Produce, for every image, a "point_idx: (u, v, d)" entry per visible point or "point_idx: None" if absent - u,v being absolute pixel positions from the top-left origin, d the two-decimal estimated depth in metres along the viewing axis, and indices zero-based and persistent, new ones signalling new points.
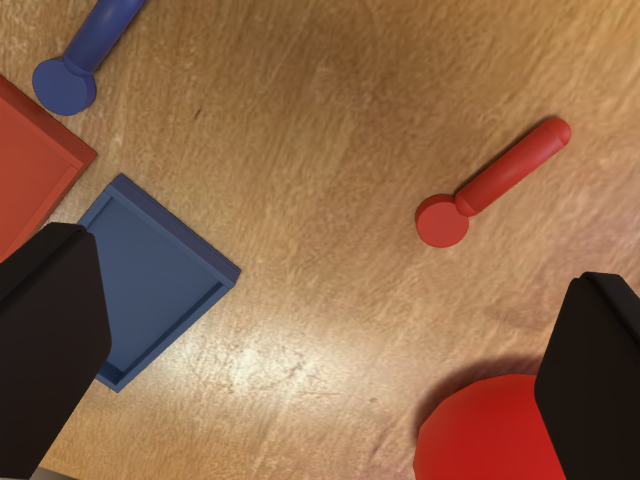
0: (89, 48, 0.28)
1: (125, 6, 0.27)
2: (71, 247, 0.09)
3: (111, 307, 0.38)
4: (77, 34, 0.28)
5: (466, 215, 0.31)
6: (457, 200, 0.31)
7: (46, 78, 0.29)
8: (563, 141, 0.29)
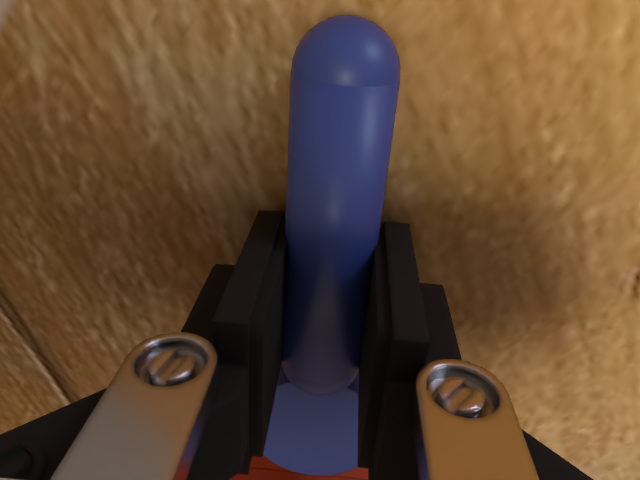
0: (336, 331, 0.10)
1: (366, 180, 0.09)
2: None
3: None
4: (289, 317, 0.10)
5: None
6: None
7: (279, 428, 0.12)
8: None
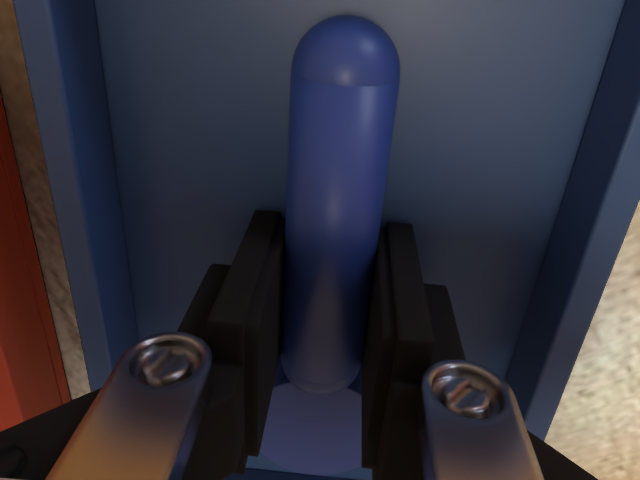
0: (336, 331, 0.10)
1: (366, 179, 0.09)
2: (284, 231, 0.10)
3: None
4: (289, 317, 0.10)
5: None
6: None
7: (280, 427, 0.12)
8: None
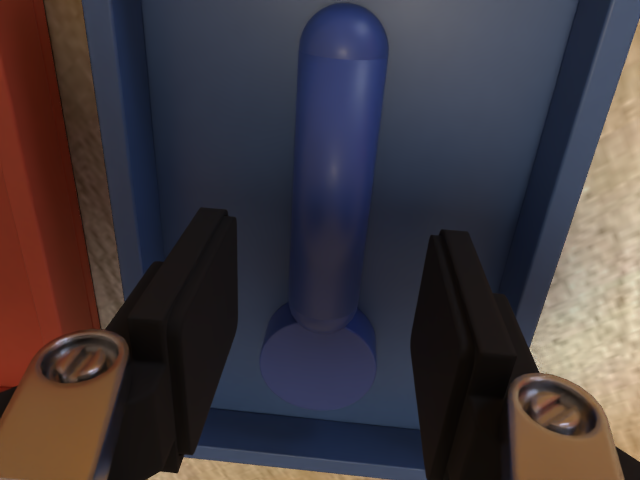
0: (335, 273, 0.12)
1: (360, 139, 0.10)
2: (226, 229, 0.10)
3: None
4: (296, 261, 0.12)
5: None
6: None
7: (287, 365, 0.14)
8: None
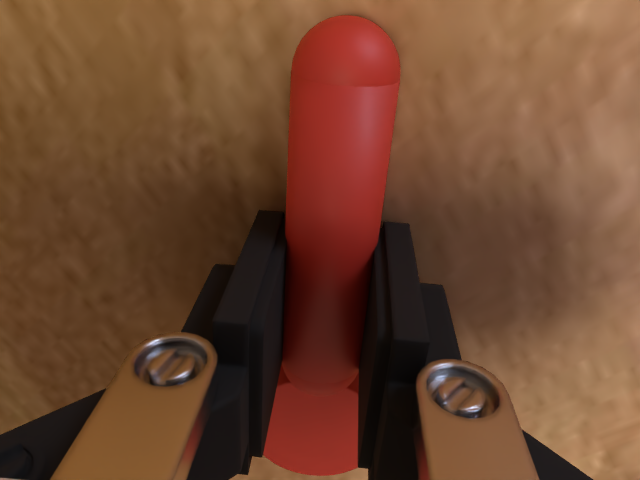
0: None
1: None
2: None
3: None
4: None
5: (332, 394, 0.11)
6: (285, 374, 0.11)
7: None
8: (362, 79, 0.08)
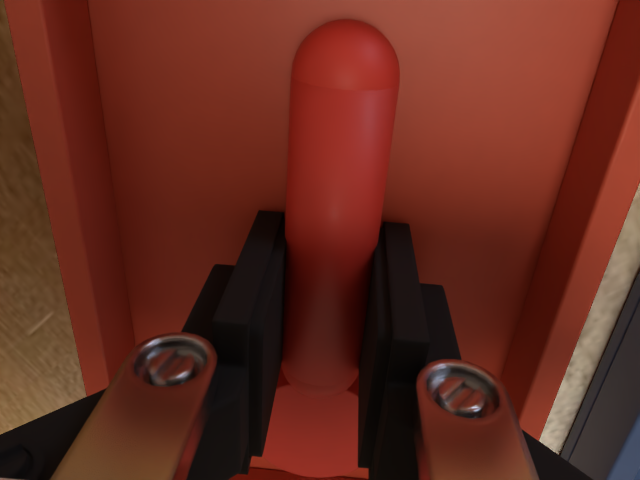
0: None
1: None
2: None
3: None
4: None
5: (332, 396, 0.11)
6: (285, 377, 0.11)
7: None
8: (362, 83, 0.08)
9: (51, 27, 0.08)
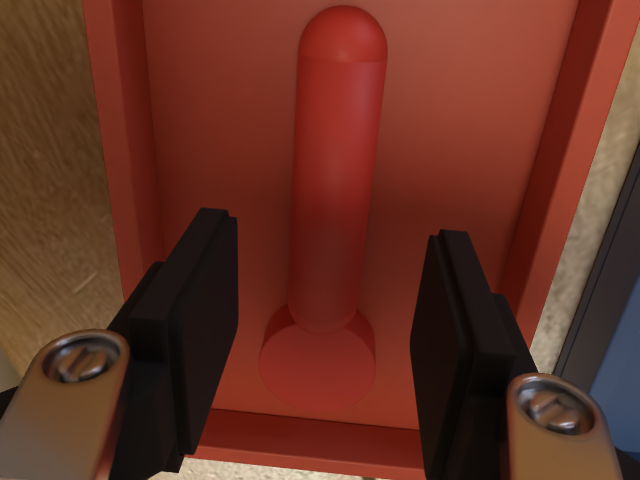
0: None
1: None
2: (227, 229, 0.10)
3: None
4: None
5: (332, 333, 0.13)
6: (291, 317, 0.13)
7: None
8: (356, 56, 0.10)
9: (117, 20, 0.10)
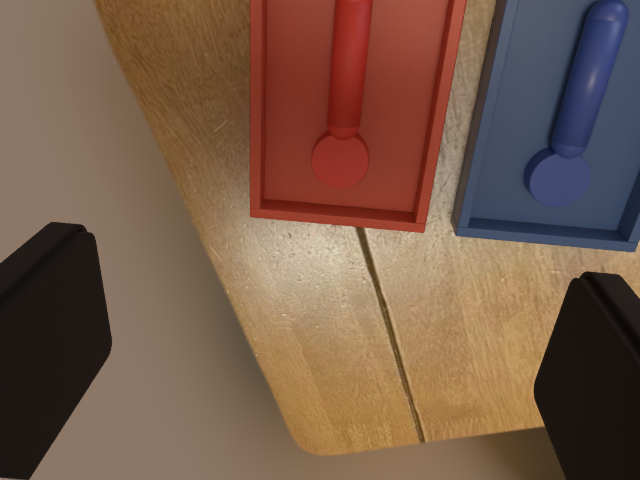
0: (588, 121, 0.26)
1: (613, 56, 0.24)
2: (71, 247, 0.09)
3: None
4: (567, 118, 0.26)
5: (348, 137, 0.27)
6: (328, 130, 0.28)
7: (544, 179, 0.28)
8: None
9: None
